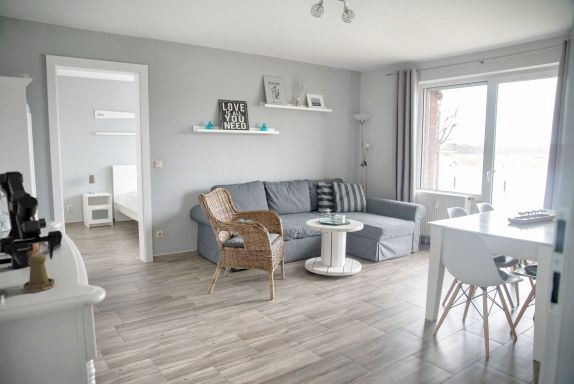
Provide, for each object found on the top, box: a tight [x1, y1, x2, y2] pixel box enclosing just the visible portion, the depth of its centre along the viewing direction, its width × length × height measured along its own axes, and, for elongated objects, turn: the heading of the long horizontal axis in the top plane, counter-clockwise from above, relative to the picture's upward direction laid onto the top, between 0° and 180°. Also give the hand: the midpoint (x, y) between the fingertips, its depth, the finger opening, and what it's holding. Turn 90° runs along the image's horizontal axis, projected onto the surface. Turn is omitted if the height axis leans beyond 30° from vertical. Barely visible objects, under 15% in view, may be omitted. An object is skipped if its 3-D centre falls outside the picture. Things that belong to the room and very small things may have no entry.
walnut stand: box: [22, 277, 55, 293], centre depth 139 cm, size 9×9×2 cm
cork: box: [28, 253, 49, 286], centre depth 139 cm, size 6×6×11 cm
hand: (36, 261), depth 140 cm, fingers open, 9 cm apart
